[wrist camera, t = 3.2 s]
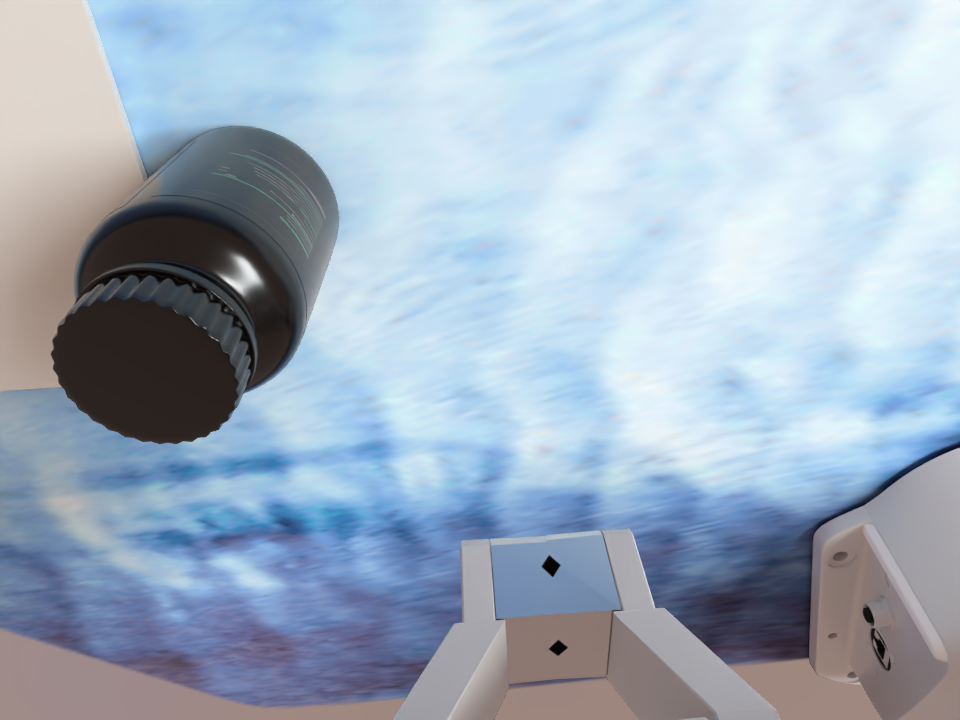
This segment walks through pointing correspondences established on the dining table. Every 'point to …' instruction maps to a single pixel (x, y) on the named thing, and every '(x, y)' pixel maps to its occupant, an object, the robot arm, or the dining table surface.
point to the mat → (53, 172)
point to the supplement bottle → (197, 286)
